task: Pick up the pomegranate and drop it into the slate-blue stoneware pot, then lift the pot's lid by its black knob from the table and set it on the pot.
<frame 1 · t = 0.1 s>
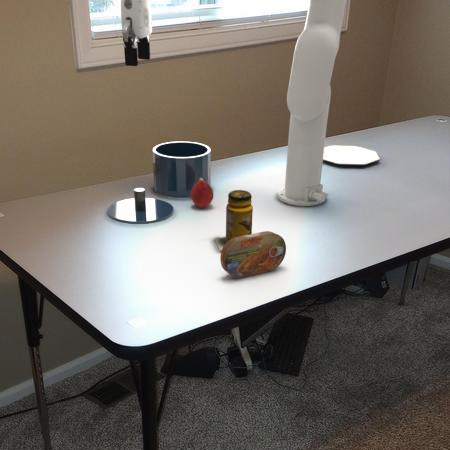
hand: (138, 62, 167), 31 cm above the table, tool pointing down, fingers open, 9 cm apart
plate: (346, 159, 209), on the table
pot: (182, 190, 182), on the table
pomegranate: (202, 209, 171), on the table
lid: (140, 211, 167), point 1 cm above the table
condiment: (234, 244, 153), on the table
tin: (252, 272, 141), on the table
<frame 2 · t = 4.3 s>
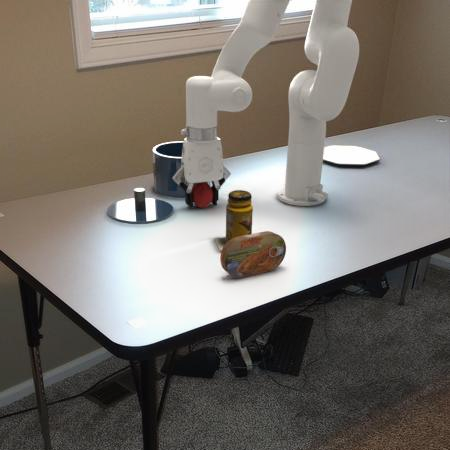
hand: (202, 204, 170), 1 cm above the table, tool pointing down, fingers closed on pomegranate, 5 cm apart
pomegranate: (202, 209, 171), on the table, touching gripper
everything else where it was.
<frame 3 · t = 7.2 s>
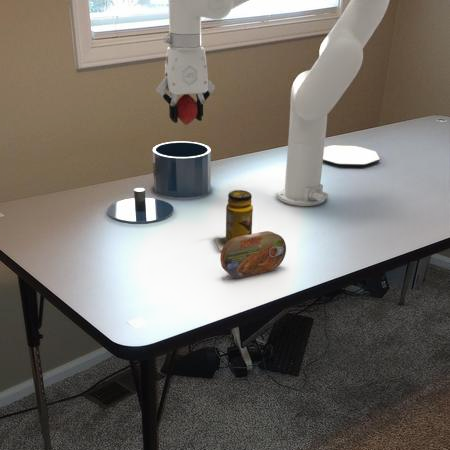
hand: (186, 119, 167), 20 cm above the table, tool pointing down, fingers closed on pomegranate, 5 cm apart
pomegranate: (186, 125, 168), point 18 cm above the table, touching gripper
everything else where it was.
when the fingers open (9 cm above the table, at t = 10.4 s): pomegranate drops 7 cm, resting on pot.
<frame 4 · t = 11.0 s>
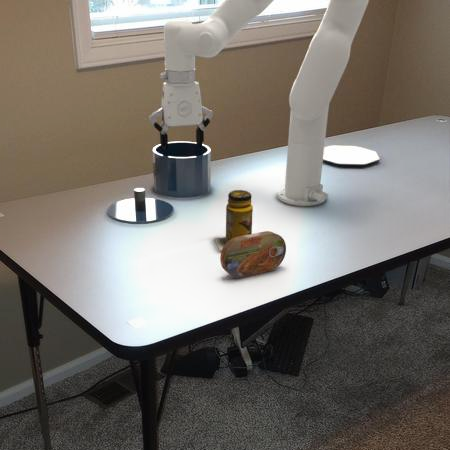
hand: (182, 146, 175), 12 cm above the table, tool pointing down, fingers open, 9 cm apart
pomegranate: (182, 185, 181), point 1 cm above the table, touching pot
everything else where it was.
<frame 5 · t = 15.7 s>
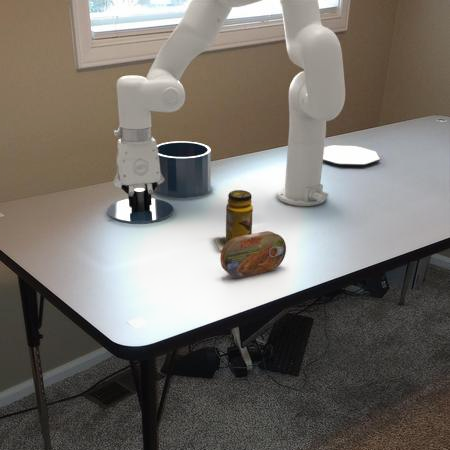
hand: (140, 208, 166), 1 cm above the table, tool pointing down, fingers closed on lid, 2 cm apart
lid: (140, 211, 167), point 1 cm above the table, touching gripper
everything else where it was.
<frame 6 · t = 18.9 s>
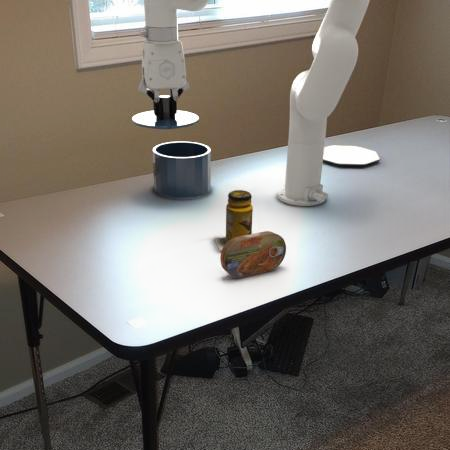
hand: (165, 117, 164), 21 cm above the table, tool pointing down, fingers closed on lid, 2 cm apart
lid: (165, 120, 164), point 20 cm above the table, touching gripper
everything else where it was.
when the fingers open (12 cm above the table, at t = 22.1 s): lid stays where it is, resting on pot.
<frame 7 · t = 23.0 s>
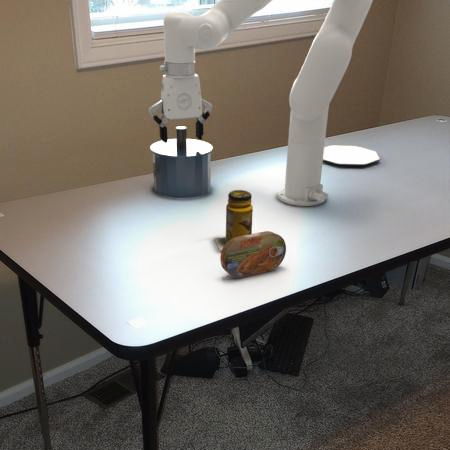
hand: (181, 139, 174), 13 cm above the table, tool pointing down, fingers open, 9 cm apart
lid: (181, 149, 176), point 11 cm above the table, touching pot
everything else where it was.
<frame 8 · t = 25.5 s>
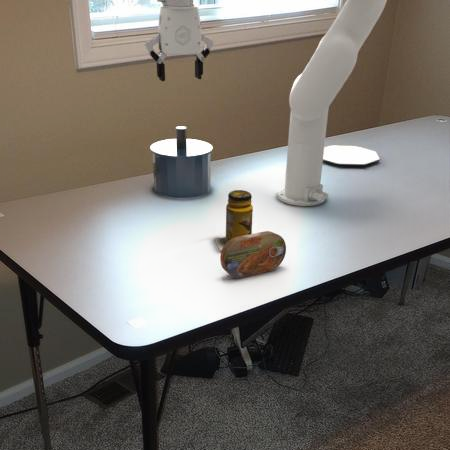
hand: (180, 79, 165), 28 cm above the table, tool pointing down, fingers open, 9 cm apart
nothing on the table moved.
at the end: pomegranate inside the target area in the pot (0.2 cm from its centre), point 1.5 cm above the pot's base; lid 0.0 cm off-centre on the pot, point 11.0 cm above the pot's base; lid tilted 0° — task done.
